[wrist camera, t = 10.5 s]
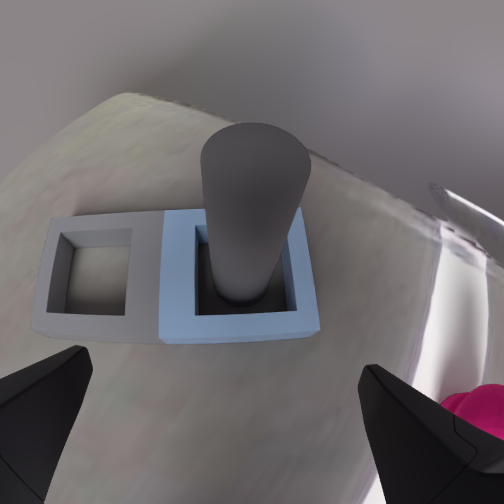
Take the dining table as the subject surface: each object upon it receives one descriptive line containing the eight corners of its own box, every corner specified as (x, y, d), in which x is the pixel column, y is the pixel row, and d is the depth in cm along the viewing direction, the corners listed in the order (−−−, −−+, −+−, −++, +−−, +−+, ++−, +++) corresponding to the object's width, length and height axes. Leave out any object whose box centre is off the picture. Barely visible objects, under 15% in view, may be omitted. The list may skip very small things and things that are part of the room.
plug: (278, 290, 24) (332, 176, 11) (230, 317, 22) (235, 220, 10) (249, 247, 25) (271, 113, 13) (203, 271, 24) (183, 142, 11)
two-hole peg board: (293, 226, 26) (300, 207, 24) (309, 337, 22) (320, 329, 19) (64, 234, 24) (51, 218, 21) (49, 337, 20) (30, 329, 17)
